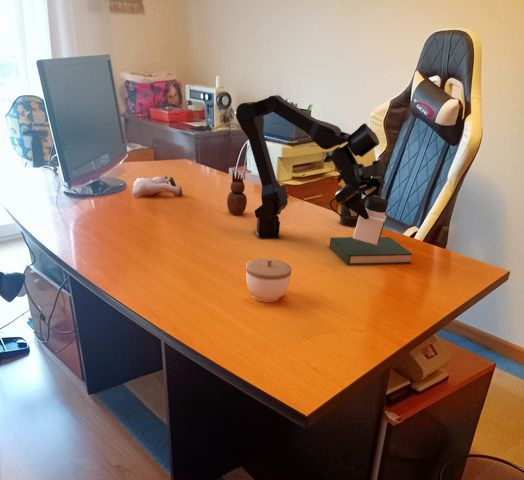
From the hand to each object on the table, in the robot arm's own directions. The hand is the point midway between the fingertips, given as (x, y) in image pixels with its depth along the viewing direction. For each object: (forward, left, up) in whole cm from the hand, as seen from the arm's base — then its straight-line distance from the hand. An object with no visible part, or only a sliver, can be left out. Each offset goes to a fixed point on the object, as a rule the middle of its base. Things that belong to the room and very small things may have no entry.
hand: (375, 216), depth 145 cm
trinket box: (-36, -21, -13) cm, 44 cm away
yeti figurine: (-56, +74, -13) cm, 94 cm away
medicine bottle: (-1, +1, -7) cm, 7 cm away
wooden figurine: (-29, +47, -13) cm, 57 cm away
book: (+3, +5, -13) cm, 14 cm away
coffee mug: (+8, +36, -13) cm, 39 cm away
